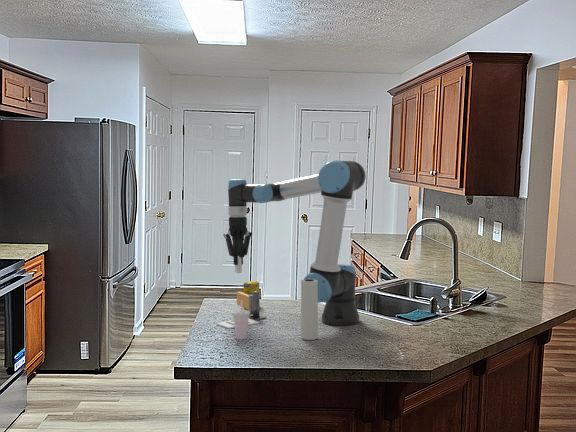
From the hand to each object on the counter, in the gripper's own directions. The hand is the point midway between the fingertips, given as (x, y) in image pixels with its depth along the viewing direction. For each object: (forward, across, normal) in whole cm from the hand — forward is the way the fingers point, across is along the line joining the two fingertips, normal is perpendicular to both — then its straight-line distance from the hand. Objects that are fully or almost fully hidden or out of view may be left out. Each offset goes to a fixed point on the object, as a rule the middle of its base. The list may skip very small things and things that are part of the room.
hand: (238, 272), depth 275 cm
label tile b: (+18, -13, -14) cm, 26 cm away
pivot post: (+18, +2, -9) cm, 20 cm away
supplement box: (+18, +13, +11) cm, 25 cm away
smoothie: (+18, -19, -33) cm, 42 cm away
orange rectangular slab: (+17, +4, +1) cm, 17 cm away
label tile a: (+18, -4, -14) cm, 23 cm away
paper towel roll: (+18, +1, -48) cm, 51 cm away
